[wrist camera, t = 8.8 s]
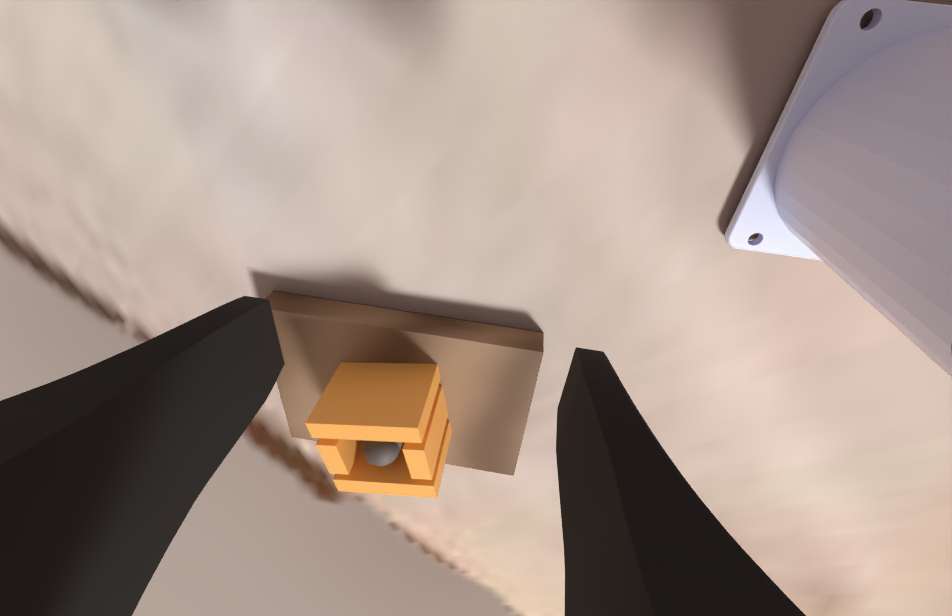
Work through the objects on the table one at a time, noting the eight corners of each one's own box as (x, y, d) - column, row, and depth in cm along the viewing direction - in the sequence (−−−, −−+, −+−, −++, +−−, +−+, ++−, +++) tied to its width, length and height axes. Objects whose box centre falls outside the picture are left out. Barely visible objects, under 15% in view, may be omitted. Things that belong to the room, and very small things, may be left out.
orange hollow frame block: (437, 363, 21) (417, 428, 18) (451, 432, 24) (436, 498, 21) (340, 362, 22) (304, 423, 19) (365, 428, 25) (338, 491, 22)
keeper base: (543, 332, 21) (542, 417, 16) (515, 454, 27) (508, 541, 22) (273, 290, 22) (204, 361, 17) (302, 417, 28) (256, 494, 23)
